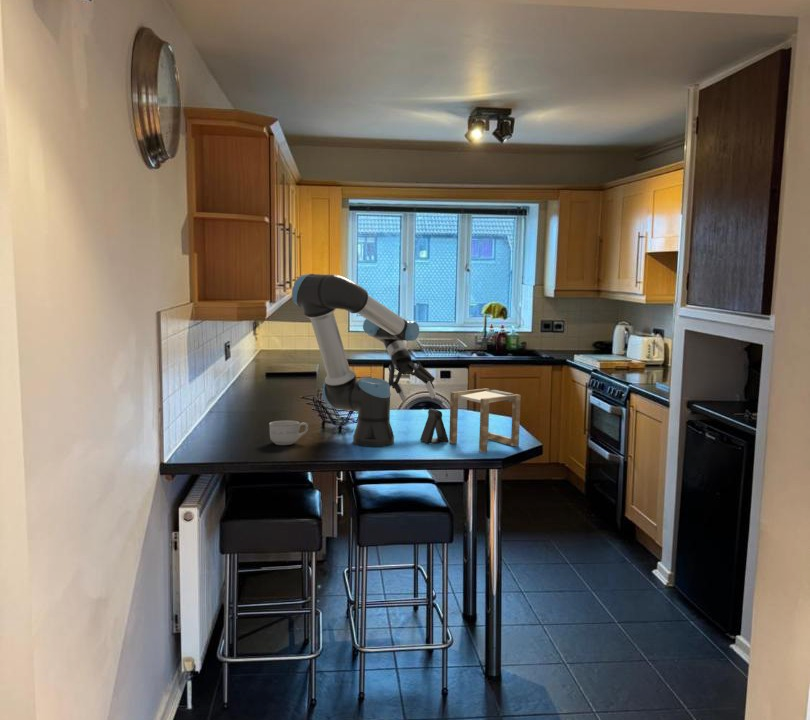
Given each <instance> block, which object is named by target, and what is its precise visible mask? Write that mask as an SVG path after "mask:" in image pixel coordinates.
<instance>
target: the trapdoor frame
mask: <svg viewBox="0 0 810 720" xmlns="http://www.w3.org/2000/svg"><path fill="white" fill-rule="evenodd" d="M490 390H491V389H490V388H488V387H487V388H486V387H485V388H477V389H467V390H461V391H450V397H449V398H450V401H449V402H450V403H449V438H448V440H449V442H448V443H449V444H452V445H455V444H457V443H458V418H459V417H458V415H459V396H461V395H467V394H472V393H477V392H483V391H490ZM521 397H522V396H521V394H518V393H515V394H514V393H513V395H508V396H500V397H492V398H482V399H481V403H479V405H480V411H479V438H478V440H479V443H478V452H479V453H481V452H482V454H484V452H485V453H487V452H488V440H489V439H490V441H493V440H494V441H493V442H497V443H501V444H505V445H507V444H508V445H507V446H510V447H513V446H517V447H520V446H519V445H520V426H521V425H520V424H521V422H520V421H521V399H522V398H521ZM509 399H513V401H512V409H511V410H512V413H511V433H510V434H511V435H510V436H511V437H508V436H505V435H501V434H498V433H494V432H491V431H489V429H490V428H489V423H490V403H489V402H492V403H494V402H493V401H497V402H501V400H509ZM454 443H455V444H454Z"/></svg>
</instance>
